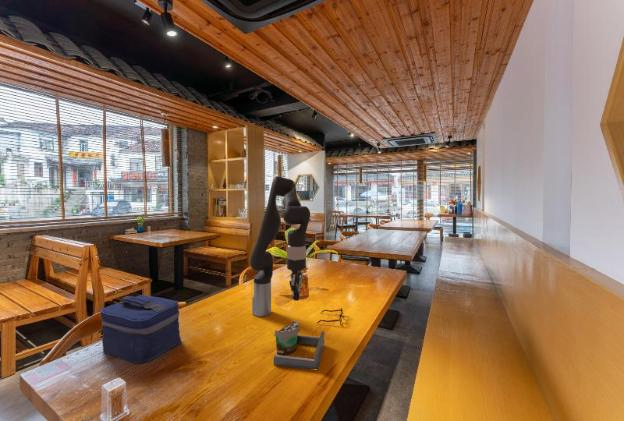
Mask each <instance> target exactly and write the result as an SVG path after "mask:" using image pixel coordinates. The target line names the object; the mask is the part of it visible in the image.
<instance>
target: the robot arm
mask: <svg viewBox="0 0 624 421" xmlns="http://www.w3.org/2000/svg"><path fill="white" fill-rule="evenodd" d="M269 190H270V191H269V195H268V200H267V206H266V209H265V212H264V215H263V218H262V222H261V226H260V230H259V233H258V236H257V240H256V243H255V245H254V248H253V251H252V253H251V256H250V261H249V264H250V267H251V269H252V270H253V271H254V272H255V271H256V272H258V271H259V272H258V273H256V274H255V275H254V277H253V296H252V298H251V299H252V300H251V303H252V306H251V308H252V309H251V310H252V314H251V315H253V316H255V317H261V318H262V317H267V316H270V315H271V313H272V277H273V275H274V274H273V273H274V272H273V271H274V270H273V268H274V258H273V255H272V253H271V252H270V251H267V249H268V247H269V246H270V245H271V243H273V241H274V240H275V238H276V237H277V235H278V233H279V231H280V227H281V225H282V224H281V223H282V219H283V222H285V224H287V225H298V227H297V228H295V229H292V230H289V231H288V232H287V249H286V268H287V270H288V271H291V274H290V280H289V286H290V290H291V292H293V293H292V294H293V295H292V298H293V301H295V302H296V301H299V300H300V294H301V293H300V292H301V287H302V281H303V276H304V273H303V272H302V271H304V270H306V268H307V248H306V241H307V240H306V235H307V229H308V225H309V223H310V218H311V210H310V208H309V207H308V206H305V205H304V206H303V205H302V204H301V202H300V200H299V198H298V193H297V186H296V183H295V181H294V180H292V179H291V178H286V177H284V176H283V177H282V176H280V175H279V176H277V175H276V176H275V177H274V178H273V179H272V182H271V187H270V189H269ZM277 197H282V206H283V209H284V210H283V215H282V216H283V217H282V219H281V216H280V212H279V210H278V207H277Z"/></svg>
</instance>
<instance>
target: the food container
mask: <svg viewBox="0 0 624 421" xmlns="http://www.w3.org/2000/svg"><path fill="white" fill-rule="evenodd" d="M299 332H300V325H299V323H298V321H296V320H294V319H293V322H292V323H290V324H288V325H285V326H284V327H282V328H280V330H276V329H275V330H274V337H275V345H276V346H275V347H276V355H282V356H290V355H292V354H294V353H295V352H296V351H297V345H298V344H297V336H298V335H299Z"/></svg>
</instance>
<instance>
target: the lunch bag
mask: <svg viewBox="0 0 624 421" xmlns="http://www.w3.org/2000/svg"><path fill="white" fill-rule="evenodd" d="M100 316H101V322H102V323H101V327H102V328H101V329H102V336H101V337H102V338H101V339H102V340H101V341H102V350H103V353H105V354H107V355H111V356H115V357H118V358H119V359H122V360H125V361H127V362H129V363H133V364H144V363H148V362H150V361H152V360H154V359H156V358H158V357H160V356H162V355H163V354H164V353H166V352H168V351H169V350H171V349H173V348H175V347H177V346H179V344H180V343H181V342H182V338H181V335H180V333H181V332H180V322H179V317H180V310H179V301H176V300H173V299H172V300H171V299H168V298H164V297H157V296H152V295H145V294H141V295H137V296H131V295H127V296H124V297H123V298H121V299H120V302H116V303H114V304H111V305H109V306H106V307H103V308H102V309H100Z"/></svg>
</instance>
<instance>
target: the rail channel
mask: <svg viewBox="0 0 624 421" xmlns="http://www.w3.org/2000/svg"><path fill="white" fill-rule="evenodd" d="M302 344H306V345H305V346H311V345H316V346H315V347H316V349H315V352H314V356H313V358H305V357H297V356H290V355H280V354H273V366H279V367H286V368H293V369H302V370H308V369H318V370H319V366H320V364H321V360H320V359H322V355H323V352H324V348H325V331H321V332H320V335H319V336H314V335H304V334H303V335H302V334H298V336H297V345H302ZM319 363H320V364H319Z"/></svg>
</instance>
